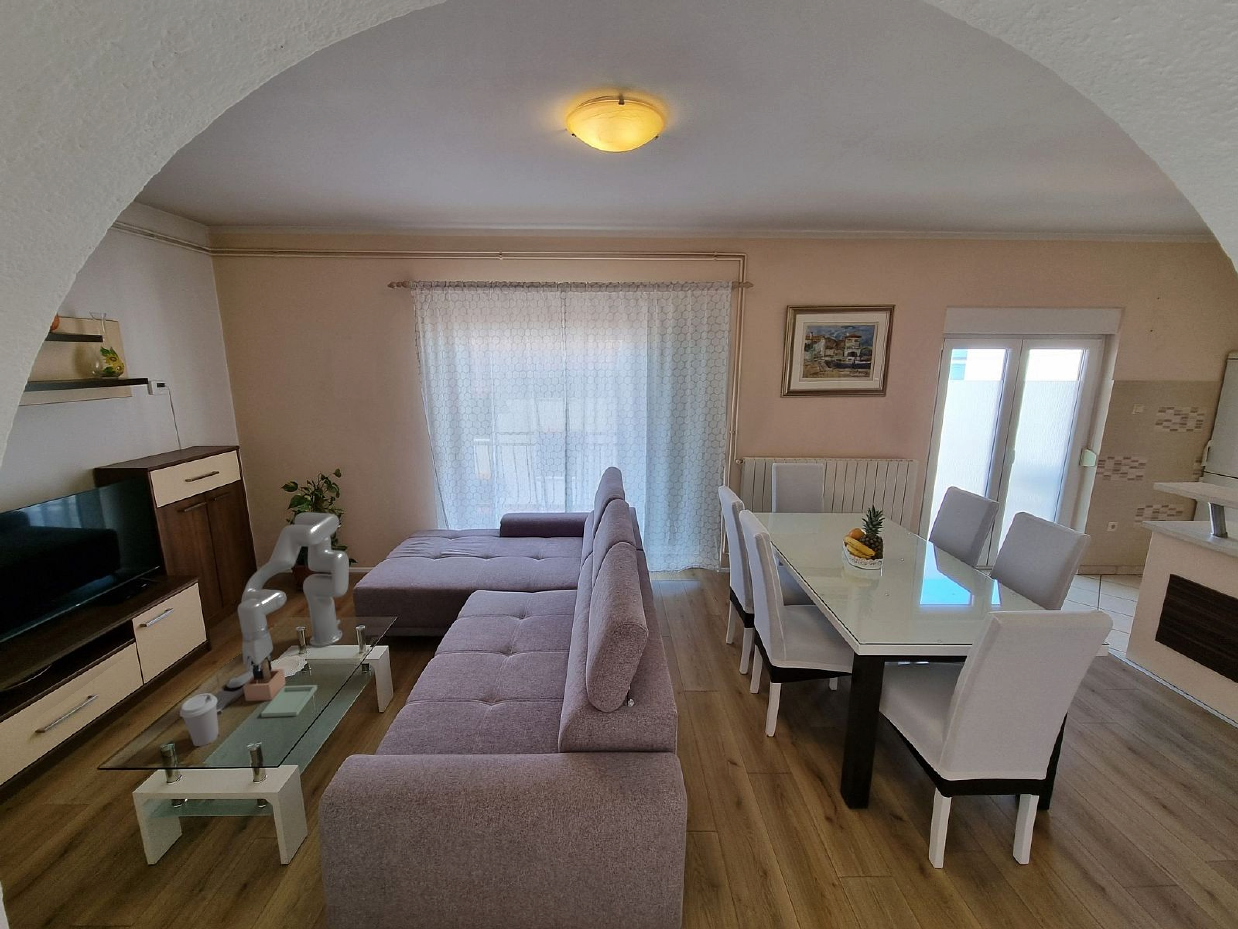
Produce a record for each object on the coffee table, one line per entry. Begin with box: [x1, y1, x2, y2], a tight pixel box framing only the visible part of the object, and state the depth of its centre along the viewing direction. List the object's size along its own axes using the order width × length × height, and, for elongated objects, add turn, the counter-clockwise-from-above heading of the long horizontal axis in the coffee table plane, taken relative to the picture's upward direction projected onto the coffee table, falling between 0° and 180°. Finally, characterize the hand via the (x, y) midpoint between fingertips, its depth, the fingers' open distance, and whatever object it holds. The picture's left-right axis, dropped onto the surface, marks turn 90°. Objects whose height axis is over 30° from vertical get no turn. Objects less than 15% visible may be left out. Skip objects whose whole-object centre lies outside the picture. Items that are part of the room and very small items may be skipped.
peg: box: [255, 659, 271, 684], centre depth 182 cm, size 4×4×13 cm
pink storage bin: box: [243, 668, 287, 702], centre depth 183 cm, size 9×9×8 cm
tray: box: [260, 684, 318, 718], centre depth 179 cm, size 14×12×2 cm
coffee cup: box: [179, 692, 220, 747], centre depth 161 cm, size 10×10×15 cm
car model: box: [214, 671, 253, 715], centre depth 181 cm, size 11×24×5 cm, turn 172°
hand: (263, 674), depth 182 cm, fingers closed on peg, 4 cm apart
